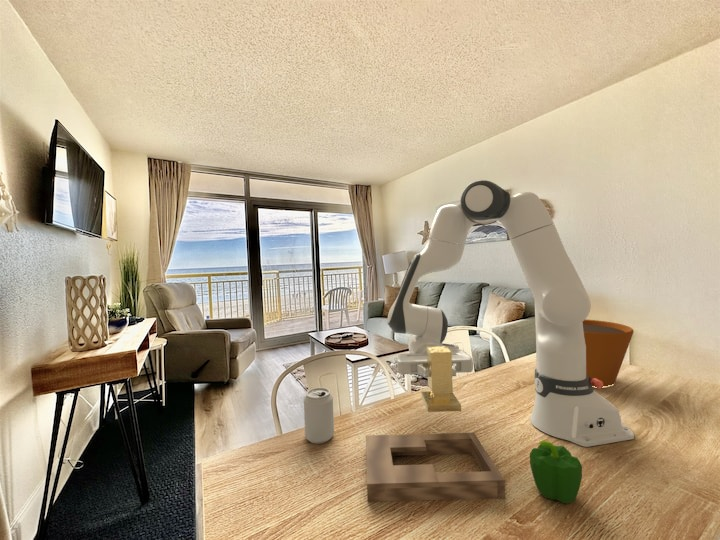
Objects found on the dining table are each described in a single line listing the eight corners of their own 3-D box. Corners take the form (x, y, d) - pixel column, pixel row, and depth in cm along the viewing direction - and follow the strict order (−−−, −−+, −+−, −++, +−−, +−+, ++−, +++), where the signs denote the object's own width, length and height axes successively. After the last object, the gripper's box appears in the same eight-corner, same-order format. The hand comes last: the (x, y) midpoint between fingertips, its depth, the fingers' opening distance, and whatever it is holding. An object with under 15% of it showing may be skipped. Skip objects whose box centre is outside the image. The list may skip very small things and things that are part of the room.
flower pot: (604, 400, 95) (604, 336, 95) (535, 374, 118) (535, 322, 117) (649, 386, 104) (649, 328, 103) (578, 365, 126) (577, 316, 126)
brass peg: (451, 396, 82) (450, 344, 81) (461, 411, 74) (459, 353, 73) (421, 397, 82) (420, 345, 82) (427, 412, 74) (426, 354, 74)
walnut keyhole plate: (474, 446, 74) (473, 432, 74) (505, 498, 58) (505, 480, 58) (366, 449, 74) (365, 435, 74) (367, 501, 58) (367, 483, 58)
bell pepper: (578, 486, 61) (578, 436, 60) (585, 517, 53) (585, 460, 53) (530, 473, 65) (529, 426, 64) (530, 500, 57) (529, 447, 57)
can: (329, 447, 76) (327, 398, 75) (300, 444, 77) (298, 397, 77) (337, 430, 83) (336, 386, 83) (311, 428, 85) (309, 385, 84)
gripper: (392, 346, 91) (398, 362, 77) (462, 344, 90) (480, 359, 77) (393, 368, 91) (399, 387, 77) (463, 365, 91) (481, 385, 77)
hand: (440, 373), depth 77 cm, fingers closed on brass peg, 5 cm apart
